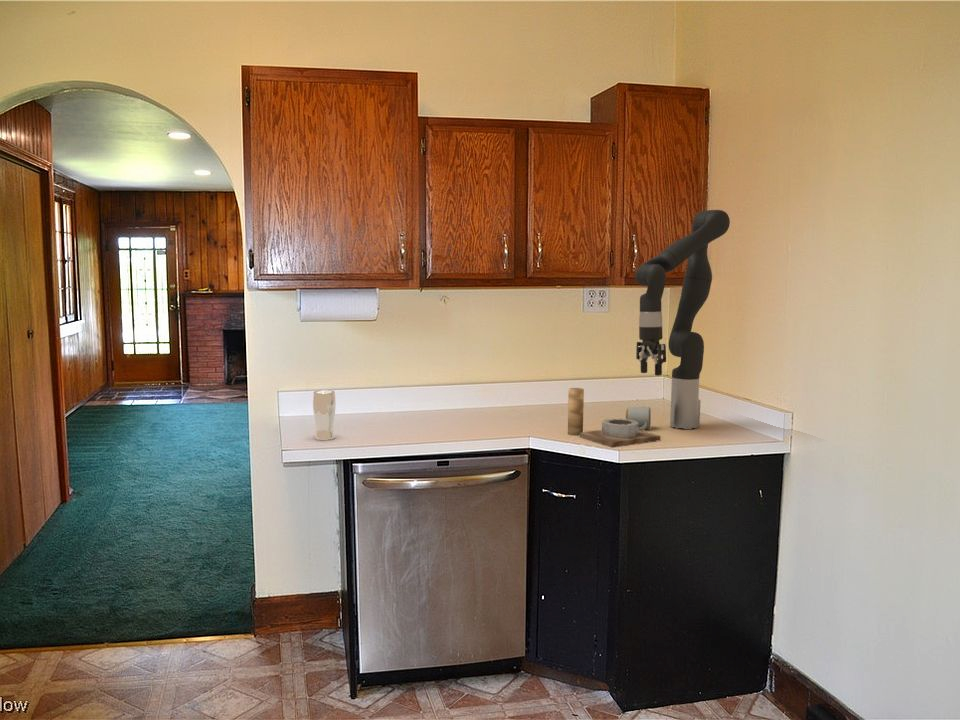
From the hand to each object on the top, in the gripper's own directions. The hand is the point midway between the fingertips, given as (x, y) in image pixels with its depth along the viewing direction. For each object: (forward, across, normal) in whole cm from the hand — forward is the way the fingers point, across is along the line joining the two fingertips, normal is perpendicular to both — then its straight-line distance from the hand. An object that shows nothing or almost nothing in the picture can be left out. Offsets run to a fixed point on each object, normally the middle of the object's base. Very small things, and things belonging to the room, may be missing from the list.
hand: (651, 374), depth 263 cm
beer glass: (+16, +26, +104) cm, 109 cm away
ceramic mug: (+20, +7, +1) cm, 21 cm away
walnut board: (+20, -5, +15) cm, 25 cm away
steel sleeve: (+18, -5, +15) cm, 24 cm away
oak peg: (+19, +7, +25) cm, 32 cm away
